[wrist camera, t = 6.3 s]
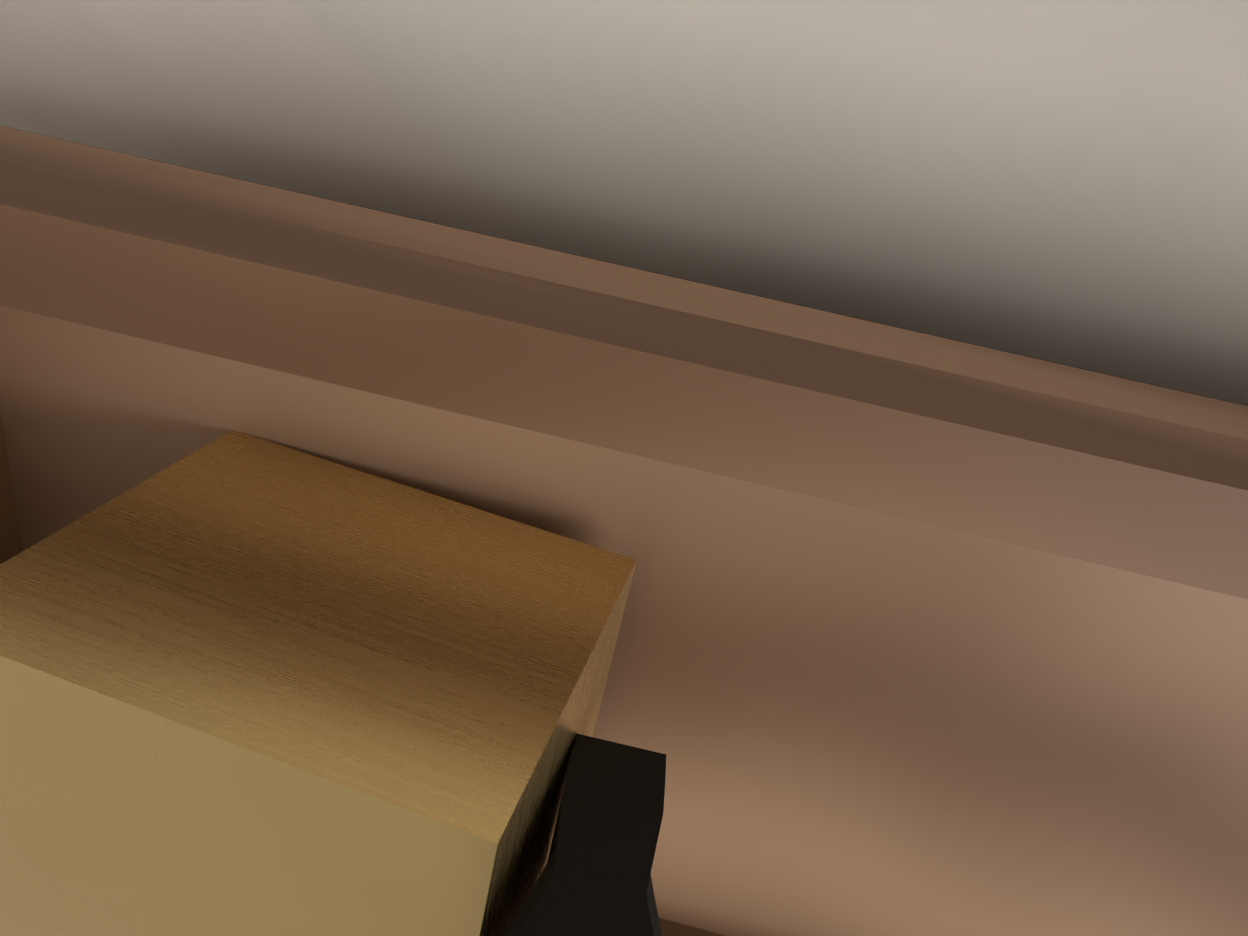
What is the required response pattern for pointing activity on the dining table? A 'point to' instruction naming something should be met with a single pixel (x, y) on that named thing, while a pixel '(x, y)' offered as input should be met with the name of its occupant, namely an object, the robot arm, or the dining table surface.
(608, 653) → the wood grain cube
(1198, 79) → the dining table surface
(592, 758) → the robot arm
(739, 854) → the beam
